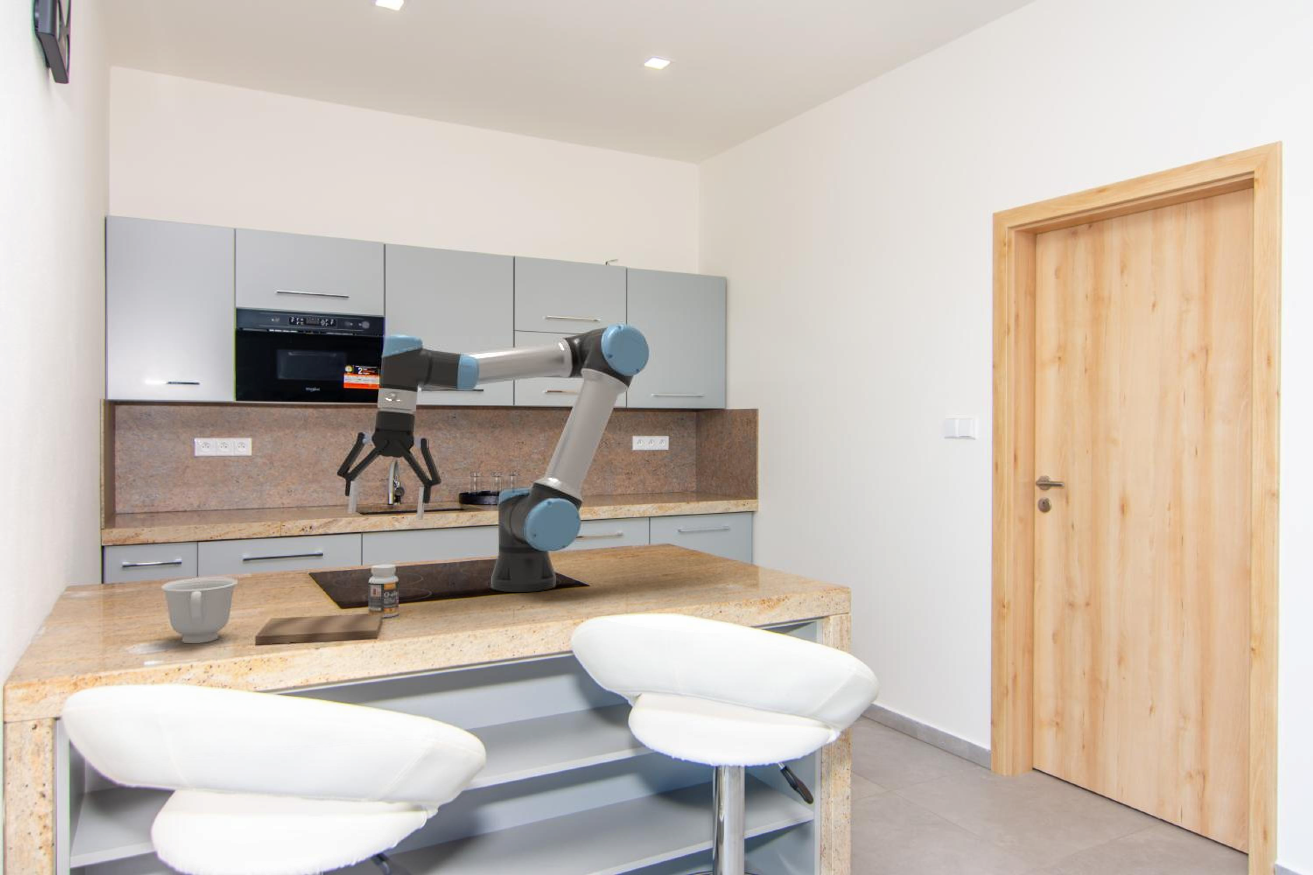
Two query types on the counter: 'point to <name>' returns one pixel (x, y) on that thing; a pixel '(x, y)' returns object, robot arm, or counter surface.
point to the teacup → (199, 606)
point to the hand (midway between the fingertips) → (385, 516)
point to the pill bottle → (384, 590)
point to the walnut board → (320, 628)
